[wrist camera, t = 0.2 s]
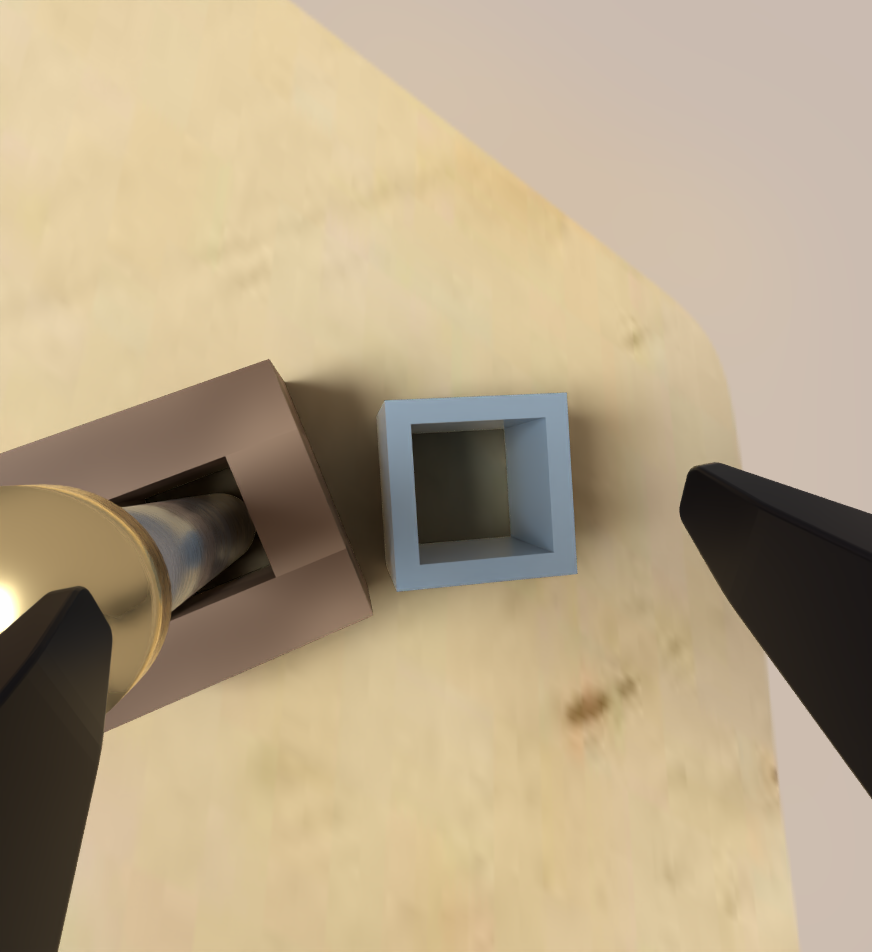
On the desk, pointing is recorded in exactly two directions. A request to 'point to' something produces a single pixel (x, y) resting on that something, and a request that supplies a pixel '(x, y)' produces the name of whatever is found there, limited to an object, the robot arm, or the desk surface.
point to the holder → (528, 479)
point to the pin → (116, 561)
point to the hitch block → (268, 502)
